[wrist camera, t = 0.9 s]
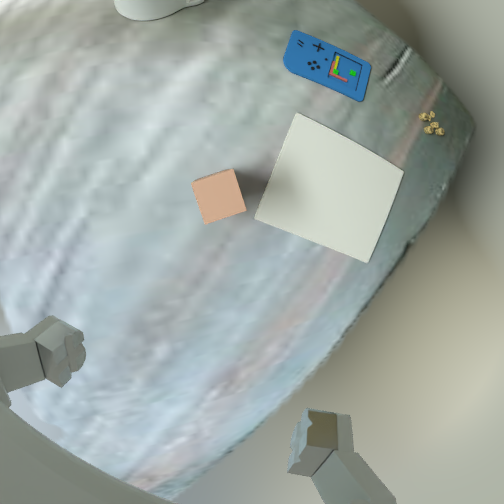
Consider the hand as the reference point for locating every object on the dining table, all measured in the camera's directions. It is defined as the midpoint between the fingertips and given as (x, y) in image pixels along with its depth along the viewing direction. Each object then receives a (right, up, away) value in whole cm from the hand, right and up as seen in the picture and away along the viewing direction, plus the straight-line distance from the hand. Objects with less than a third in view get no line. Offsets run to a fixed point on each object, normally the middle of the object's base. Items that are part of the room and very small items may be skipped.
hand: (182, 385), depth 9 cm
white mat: (+16, +14, +39) cm, 44 cm away
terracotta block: (-3, +14, +36) cm, 39 cm away
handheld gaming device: (+15, +36, +33) cm, 51 cm away
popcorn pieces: (+36, +29, +39) cm, 61 cm away
